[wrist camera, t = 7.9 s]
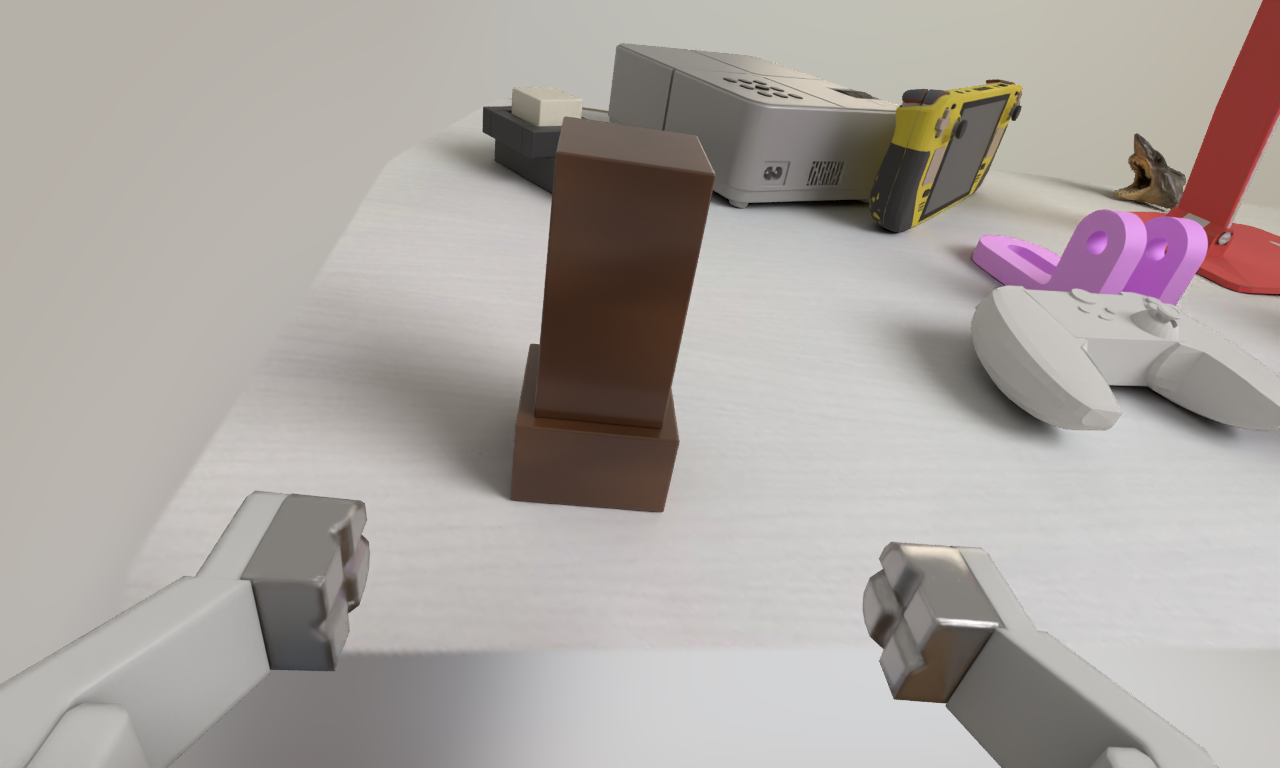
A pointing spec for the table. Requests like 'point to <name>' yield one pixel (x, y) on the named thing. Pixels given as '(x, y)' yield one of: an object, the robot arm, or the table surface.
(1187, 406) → the game controller
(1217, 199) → the desk lamp
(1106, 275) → the bracket
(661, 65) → the projector
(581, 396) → the brown stepped pedestal
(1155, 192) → the shark head
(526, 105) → the cream rectangular block
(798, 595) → the table surface
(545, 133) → the black stepped base
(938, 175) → the gaming console
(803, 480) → the table surface
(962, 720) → the robot arm
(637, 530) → the table surface
